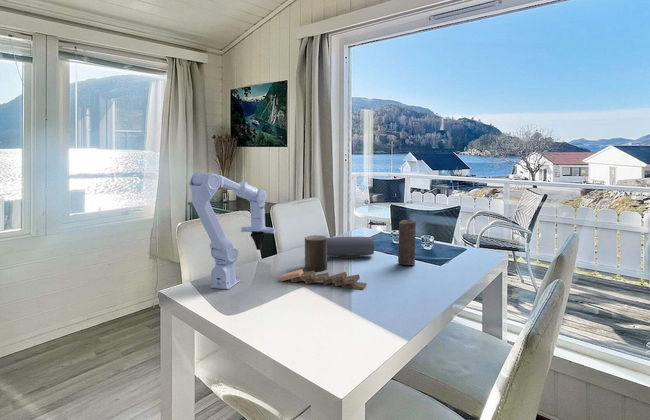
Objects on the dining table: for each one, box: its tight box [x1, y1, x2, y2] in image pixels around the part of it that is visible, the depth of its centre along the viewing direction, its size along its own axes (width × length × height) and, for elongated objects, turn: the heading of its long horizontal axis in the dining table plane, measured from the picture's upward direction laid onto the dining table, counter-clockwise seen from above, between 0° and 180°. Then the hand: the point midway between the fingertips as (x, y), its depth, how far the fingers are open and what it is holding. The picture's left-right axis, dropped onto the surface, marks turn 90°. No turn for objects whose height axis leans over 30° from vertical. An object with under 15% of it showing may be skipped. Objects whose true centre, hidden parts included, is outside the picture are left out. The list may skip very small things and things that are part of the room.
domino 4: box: [322, 271, 348, 286], centre depth 144 cm, size 5×2×8 cm
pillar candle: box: [304, 234, 328, 272], centre depth 162 cm, size 10×10×15 cm
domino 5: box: [333, 273, 361, 287], centre depth 142 cm, size 5×2×8 cm
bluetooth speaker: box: [327, 236, 375, 259], centre depth 178 cm, size 23×9×10 cm, turn 92°
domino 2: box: [290, 271, 316, 283], centre depth 147 cm, size 5×2×8 cm
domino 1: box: [279, 268, 304, 282], centre depth 149 cm, size 5×2×8 cm
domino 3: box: [304, 272, 330, 285], centre depth 146 cm, size 5×2×8 cm
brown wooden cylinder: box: [397, 219, 417, 266], centre depth 165 cm, size 8×7×20 cm
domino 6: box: [341, 281, 367, 291], centre depth 142 cm, size 5×2×8 cm
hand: (259, 249), depth 158 cm, fingers closed
